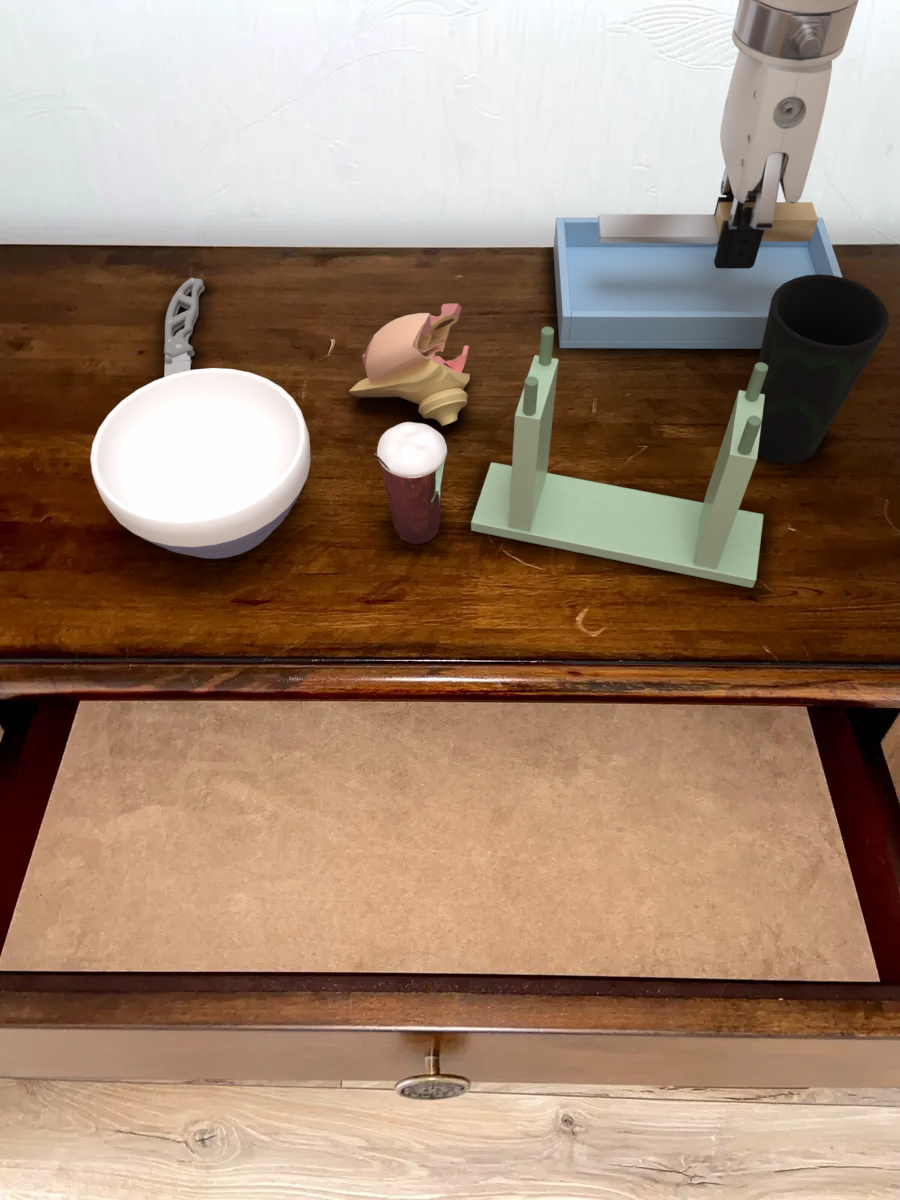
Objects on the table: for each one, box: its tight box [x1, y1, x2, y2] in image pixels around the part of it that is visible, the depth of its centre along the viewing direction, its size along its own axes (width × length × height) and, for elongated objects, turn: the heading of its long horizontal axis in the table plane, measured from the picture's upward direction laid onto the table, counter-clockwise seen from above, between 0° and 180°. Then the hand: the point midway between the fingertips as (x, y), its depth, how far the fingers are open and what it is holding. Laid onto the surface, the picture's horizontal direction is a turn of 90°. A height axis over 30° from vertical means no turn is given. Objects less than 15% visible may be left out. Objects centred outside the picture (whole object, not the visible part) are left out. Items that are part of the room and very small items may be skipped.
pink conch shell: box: [348, 303, 471, 427], centre depth 73 cm, size 9×10×10 cm
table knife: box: [597, 201, 818, 244], centre depth 76 cm, size 17×3×2 cm, turn 89°
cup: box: [757, 274, 890, 465], centre depth 68 cm, size 8×8×12 cm
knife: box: [163, 277, 205, 378], centre depth 79 cm, size 2×18×3 cm
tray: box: [552, 216, 844, 350], centre depth 81 cm, size 23×13×3 cm, turn 89°
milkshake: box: [373, 421, 448, 545], centre depth 64 cm, size 5×5×10 cm
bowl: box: [89, 367, 312, 560], centre depth 66 cm, size 14×14×8 cm
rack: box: [470, 326, 768, 589], centre depth 62 cm, size 20×6×14 cm, turn 75°
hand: (730, 252), depth 79 cm, fingers closed on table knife, 2 cm apart
